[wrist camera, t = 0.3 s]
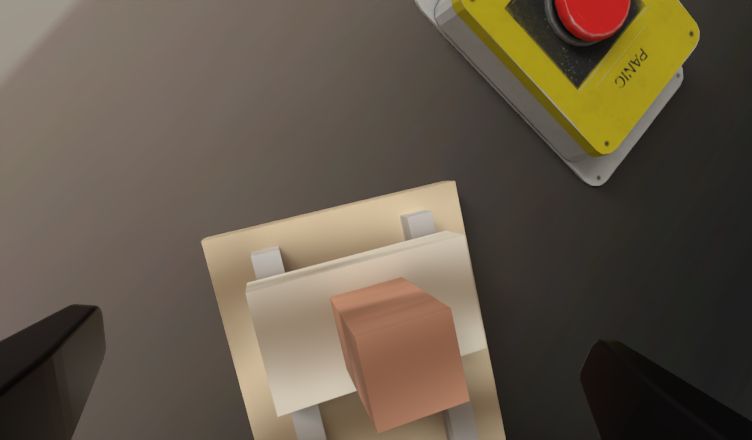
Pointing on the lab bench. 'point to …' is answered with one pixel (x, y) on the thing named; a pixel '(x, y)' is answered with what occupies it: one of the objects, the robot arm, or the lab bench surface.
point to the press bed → (322, 244)
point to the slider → (372, 329)
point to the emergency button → (575, 67)
